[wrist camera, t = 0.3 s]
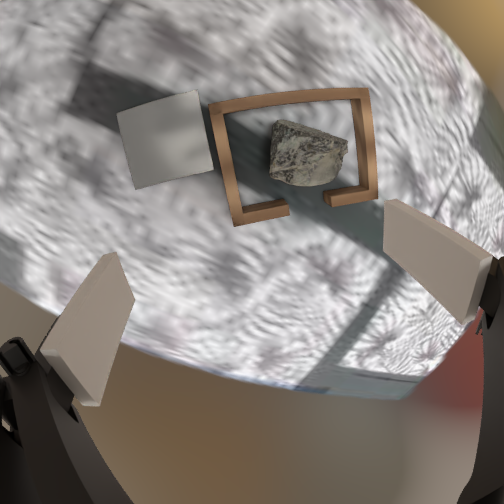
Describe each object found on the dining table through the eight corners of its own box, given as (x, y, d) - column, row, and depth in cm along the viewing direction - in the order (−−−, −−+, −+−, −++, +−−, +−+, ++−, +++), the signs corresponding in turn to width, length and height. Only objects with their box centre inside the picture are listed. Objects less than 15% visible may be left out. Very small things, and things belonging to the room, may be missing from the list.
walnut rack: (208, 106, 32) (207, 104, 29) (357, 89, 33) (368, 87, 30) (232, 219, 39) (233, 226, 37) (368, 193, 40) (378, 198, 37)
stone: (345, 117, 25) (291, 193, 28) (365, 154, 34) (322, 213, 36) (281, 88, 30) (234, 153, 33) (312, 125, 38) (274, 177, 41)
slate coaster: (117, 113, 31) (116, 113, 30) (197, 90, 31) (197, 89, 30) (136, 189, 36) (135, 190, 35) (213, 169, 36) (213, 169, 35)
